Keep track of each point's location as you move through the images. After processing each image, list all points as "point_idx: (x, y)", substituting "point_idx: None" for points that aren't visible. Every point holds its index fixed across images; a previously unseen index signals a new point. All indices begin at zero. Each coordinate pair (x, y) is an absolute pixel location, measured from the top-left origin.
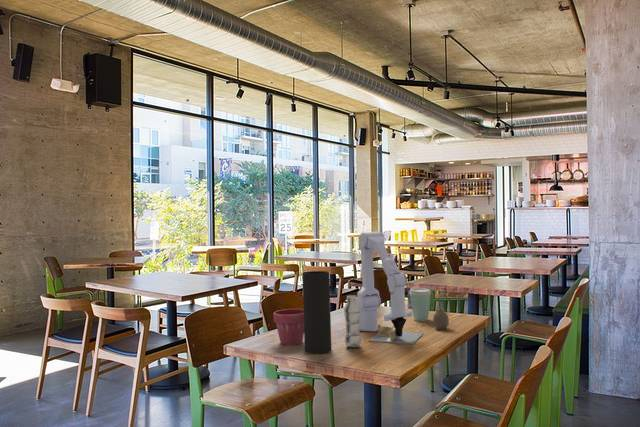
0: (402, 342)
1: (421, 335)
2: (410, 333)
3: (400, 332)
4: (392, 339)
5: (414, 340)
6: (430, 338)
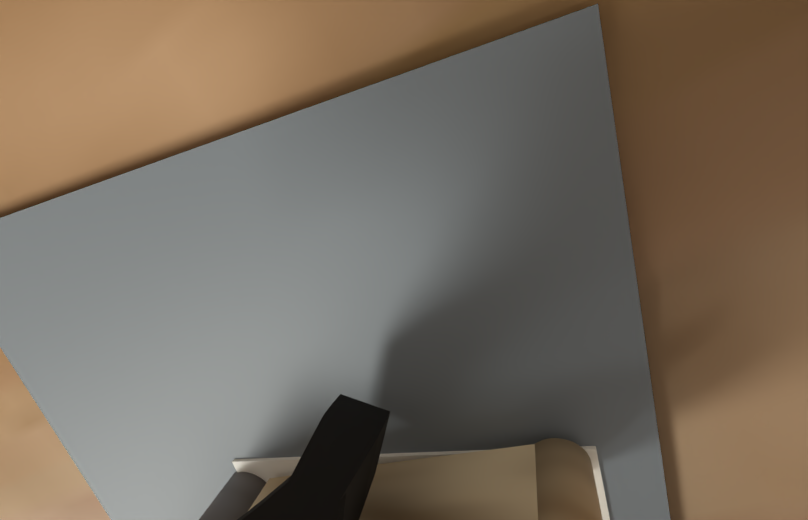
0: (596, 257)
1: (15, 212)
2: (61, 376)
3: (364, 461)
4: (586, 463)
5: (326, 132)
6: (5, 7)
